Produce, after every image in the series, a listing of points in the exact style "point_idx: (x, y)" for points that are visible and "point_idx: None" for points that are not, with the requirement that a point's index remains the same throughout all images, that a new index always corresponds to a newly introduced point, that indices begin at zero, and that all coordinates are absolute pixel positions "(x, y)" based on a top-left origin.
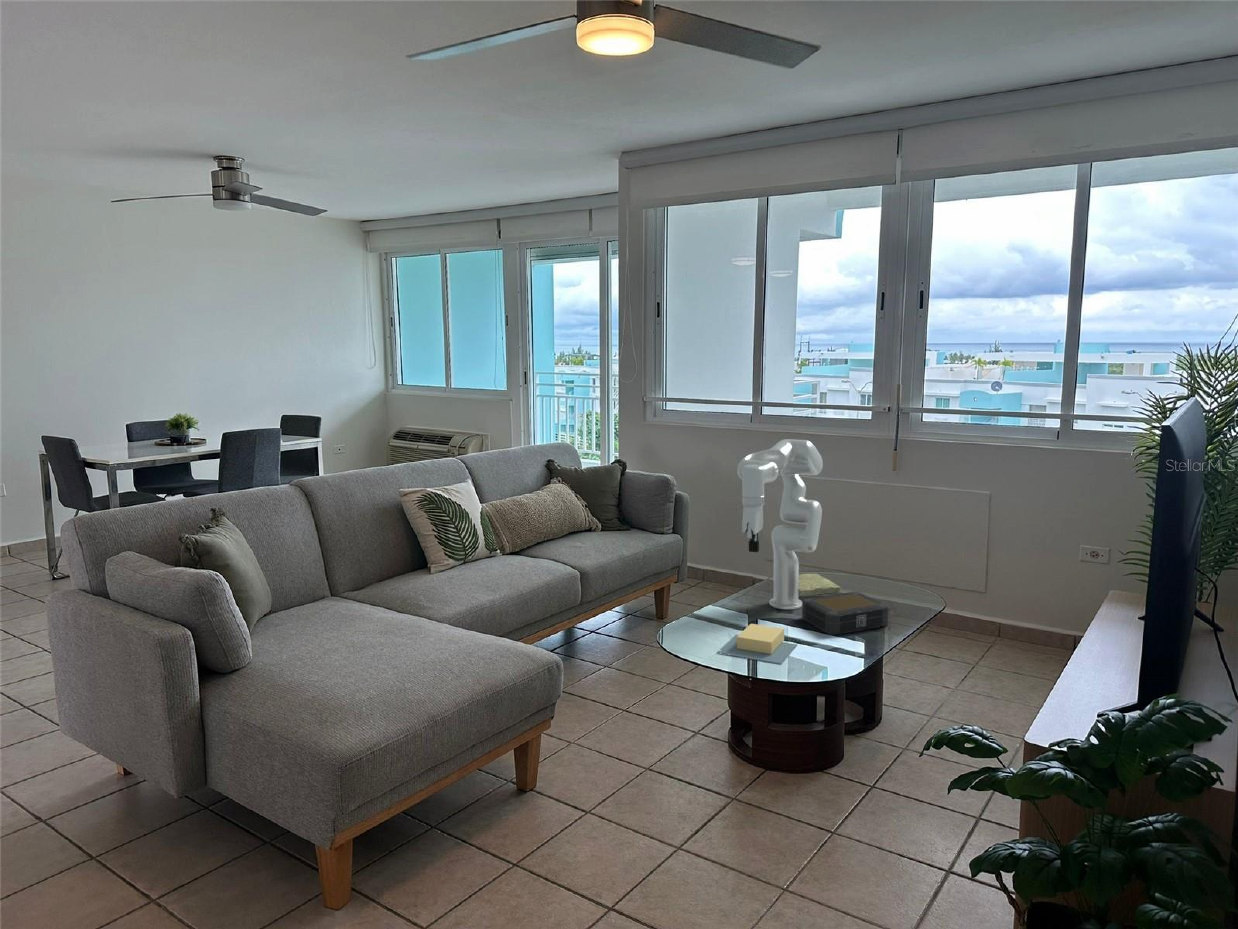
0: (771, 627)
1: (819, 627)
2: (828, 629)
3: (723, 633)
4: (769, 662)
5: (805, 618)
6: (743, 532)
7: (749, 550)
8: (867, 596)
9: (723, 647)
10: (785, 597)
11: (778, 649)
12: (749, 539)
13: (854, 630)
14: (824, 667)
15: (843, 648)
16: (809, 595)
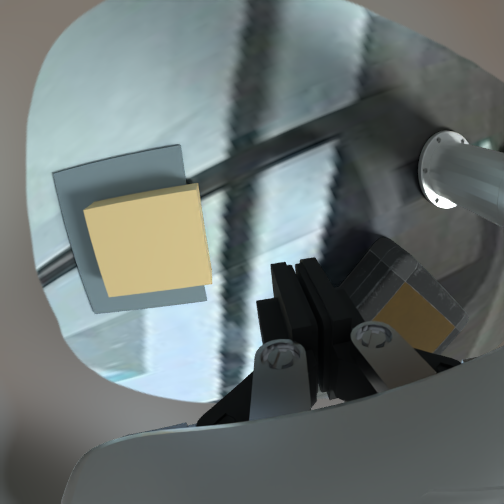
0: (200, 253)
1: None
2: None
3: (179, 107)
4: (87, 291)
5: (371, 252)
6: (80, 472)
7: (272, 271)
8: (444, 348)
9: (83, 168)
10: (442, 183)
11: None
12: (255, 374)
13: None
14: (140, 370)
15: (246, 366)
16: None
